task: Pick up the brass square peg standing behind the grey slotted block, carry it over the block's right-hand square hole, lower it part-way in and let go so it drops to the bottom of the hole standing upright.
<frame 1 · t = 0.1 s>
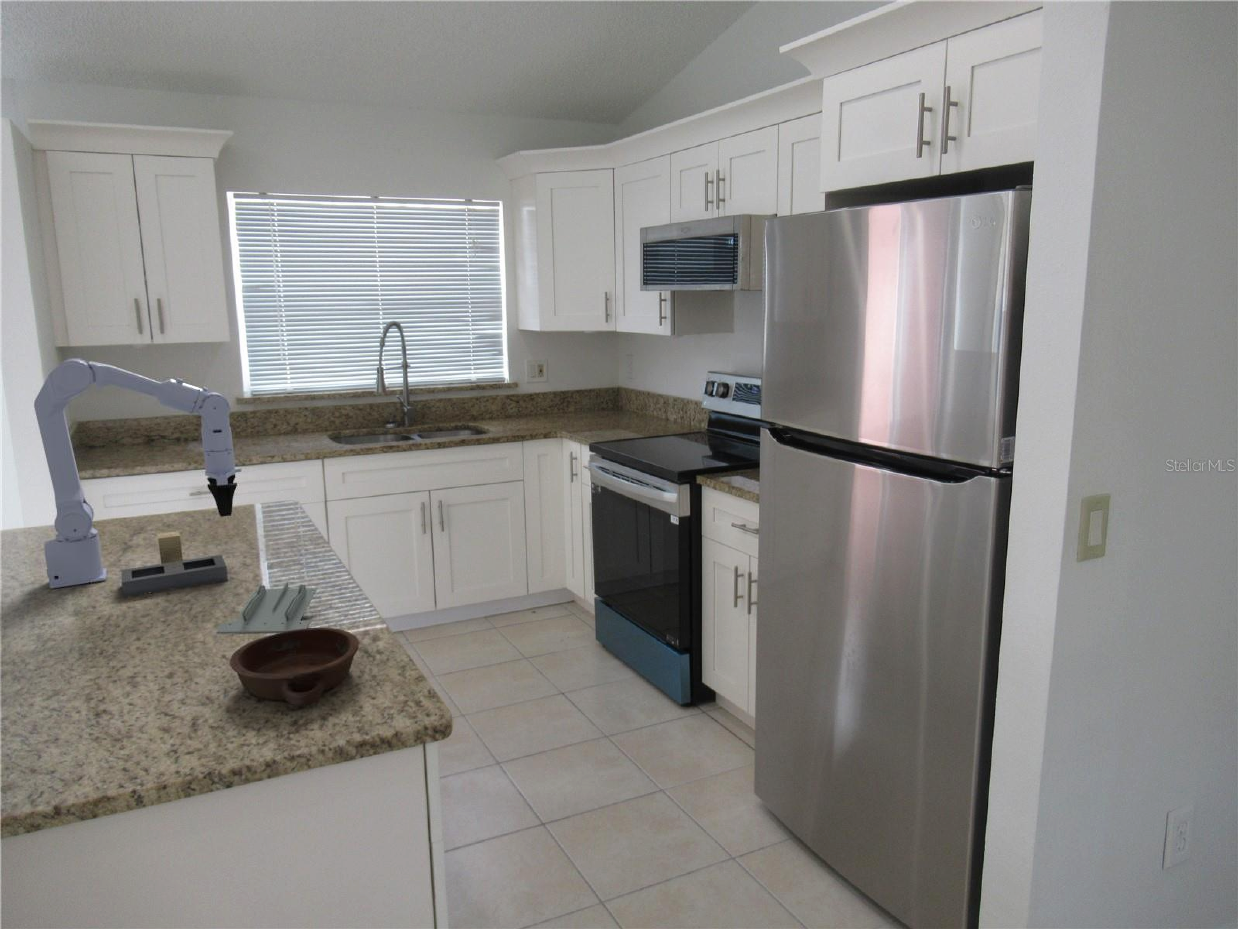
hand: (225, 512, 185), 10 cm above the counter, tool pointing down, fingers open, 7 cm apart
dish: (299, 682, 126), on the counter
metal bracket: (276, 622, 150), on the counter
grey slotted block: (175, 582, 171), on the counter
brass peg: (172, 567, 181), on the counter
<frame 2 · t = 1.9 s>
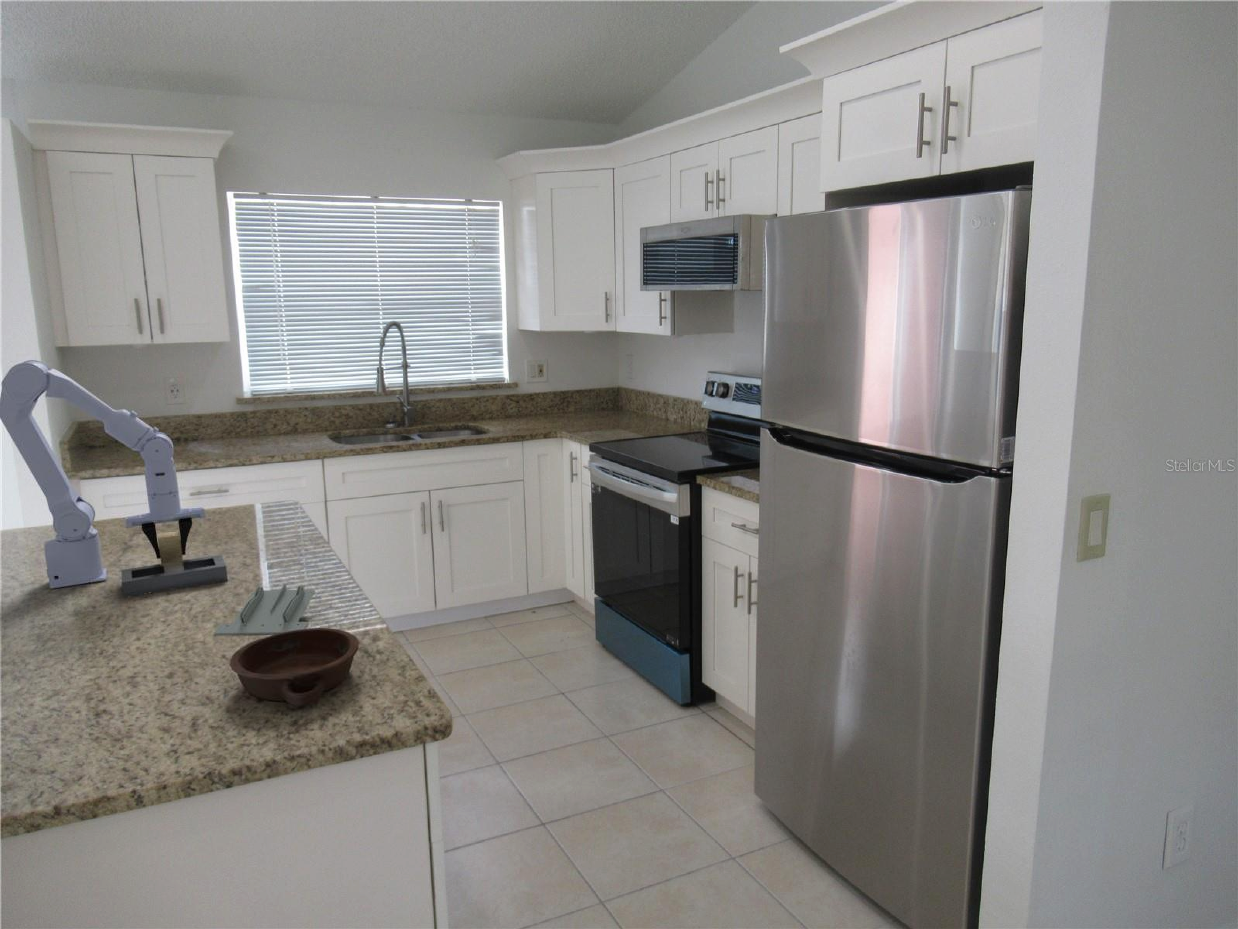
hand: (171, 555, 181), 2 cm above the counter, tool pointing down, fingers closed on brass peg, 4 cm apart
brass peg: (172, 566, 181), on the counter, touching gripper
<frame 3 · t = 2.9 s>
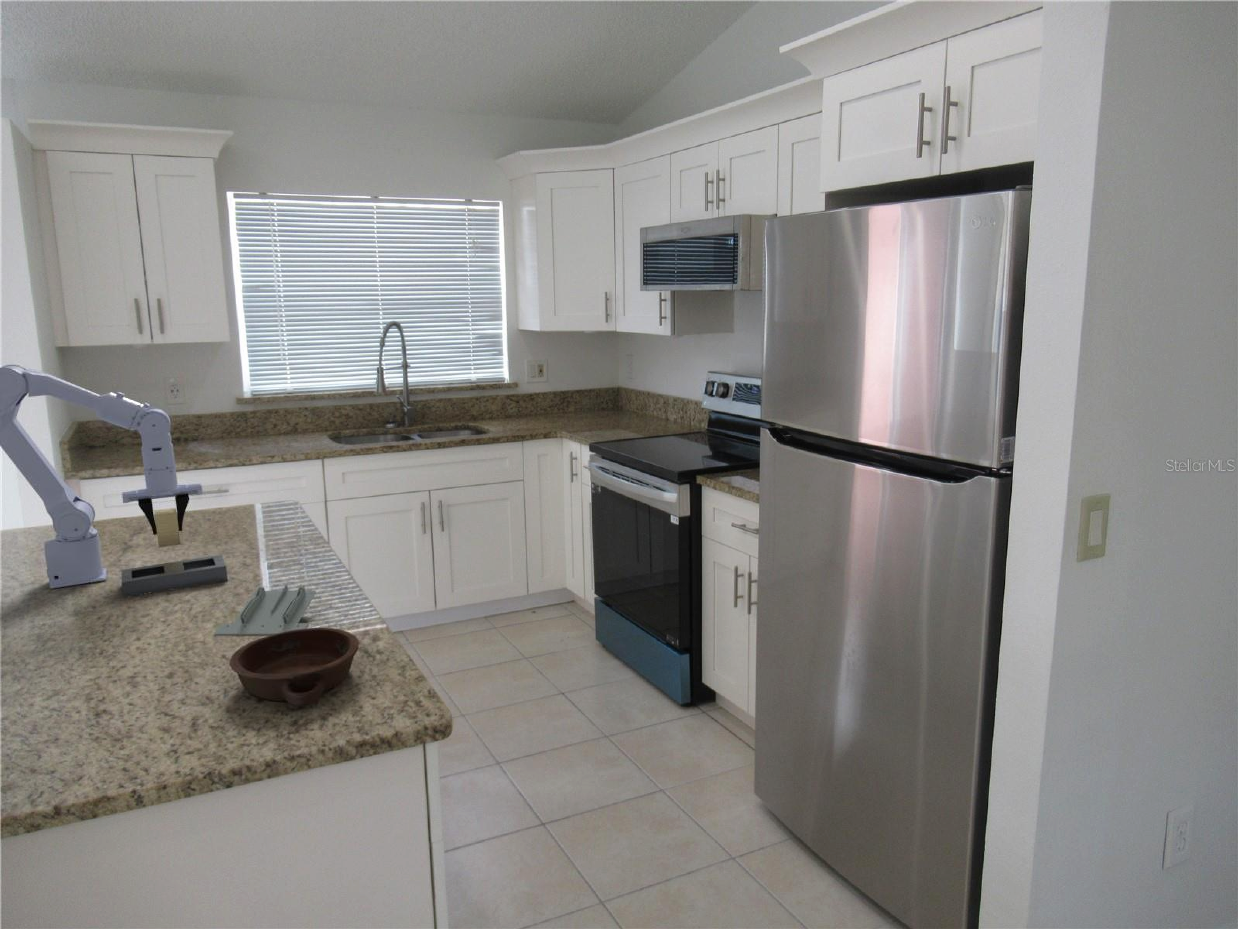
hand: (167, 531, 179), 8 cm above the counter, tool pointing down, fingers closed on brass peg, 4 cm apart
brass peg: (169, 543, 180), point 5 cm above the counter, touching gripper
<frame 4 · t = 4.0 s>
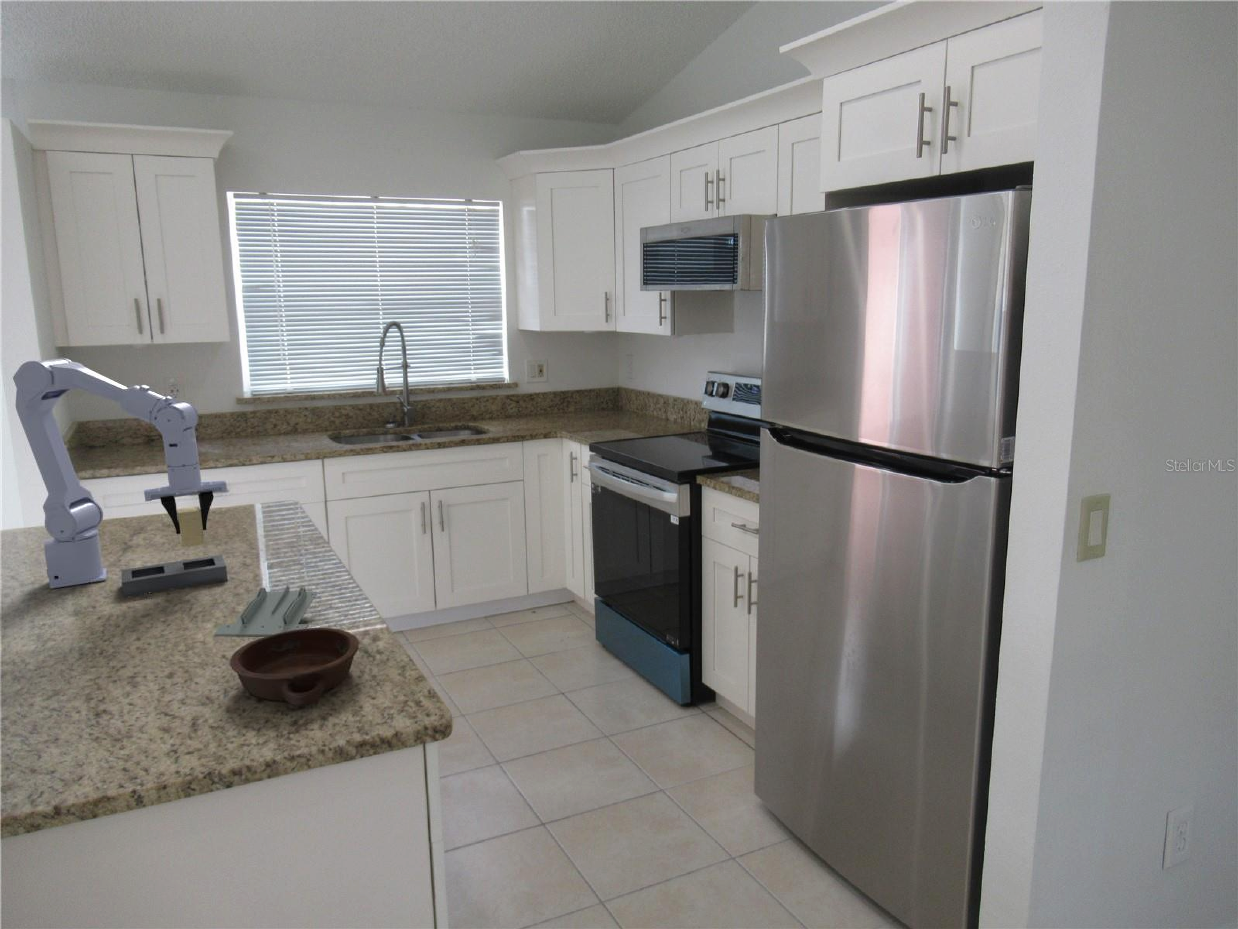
hand: (191, 531, 172), 9 cm above the counter, tool pointing down, fingers closed on brass peg, 4 cm apart
brass peg: (192, 543, 173), point 7 cm above the counter, touching gripper
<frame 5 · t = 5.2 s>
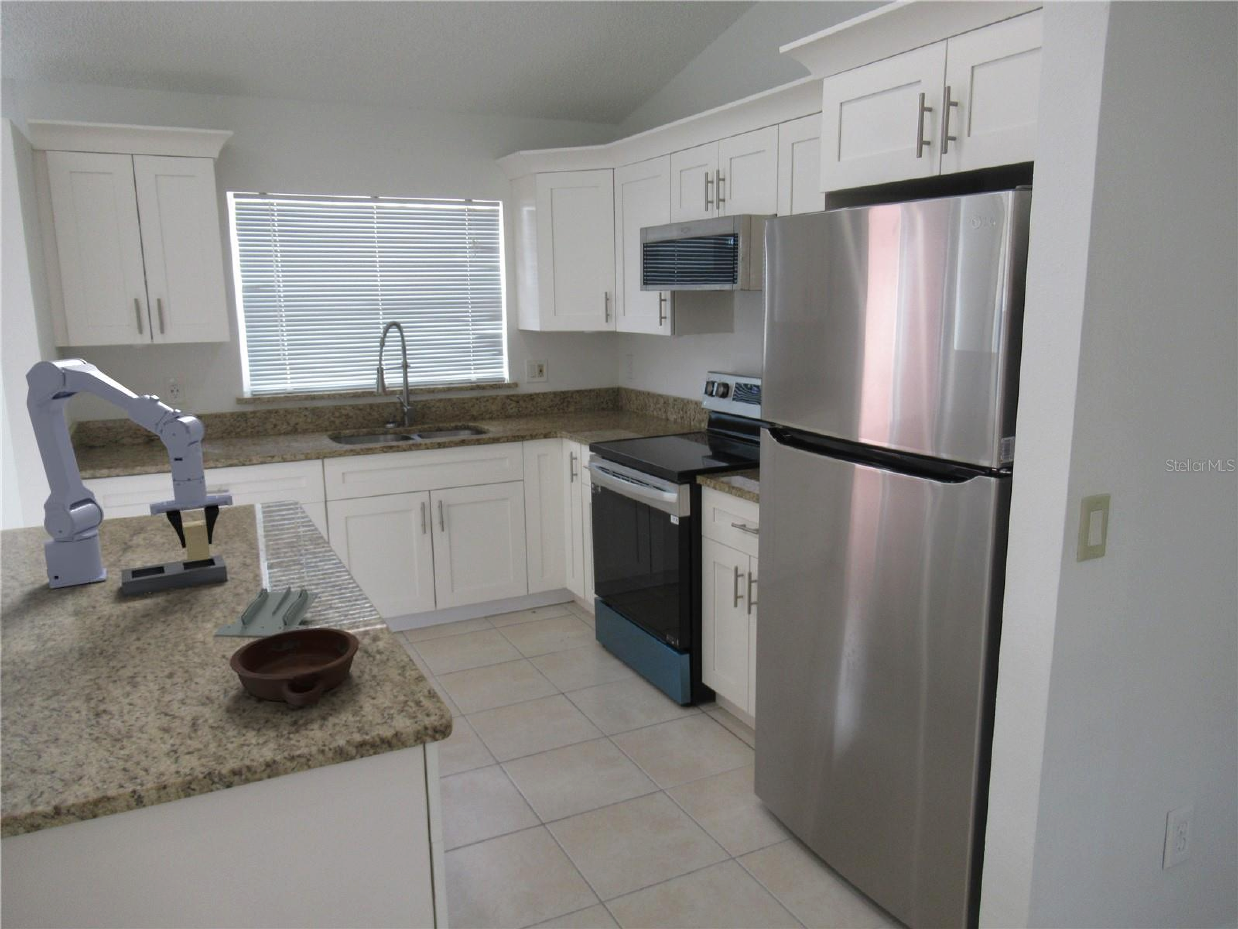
hand: (196, 545, 172), 7 cm above the counter, tool pointing down, fingers closed on brass peg, 4 cm apart
brass peg: (198, 557, 172), point 4 cm above the counter, touching gripper
when the fingers open (4 cm above the counter, at t = 6.3 s): brass peg drops 1 cm, on the counter.
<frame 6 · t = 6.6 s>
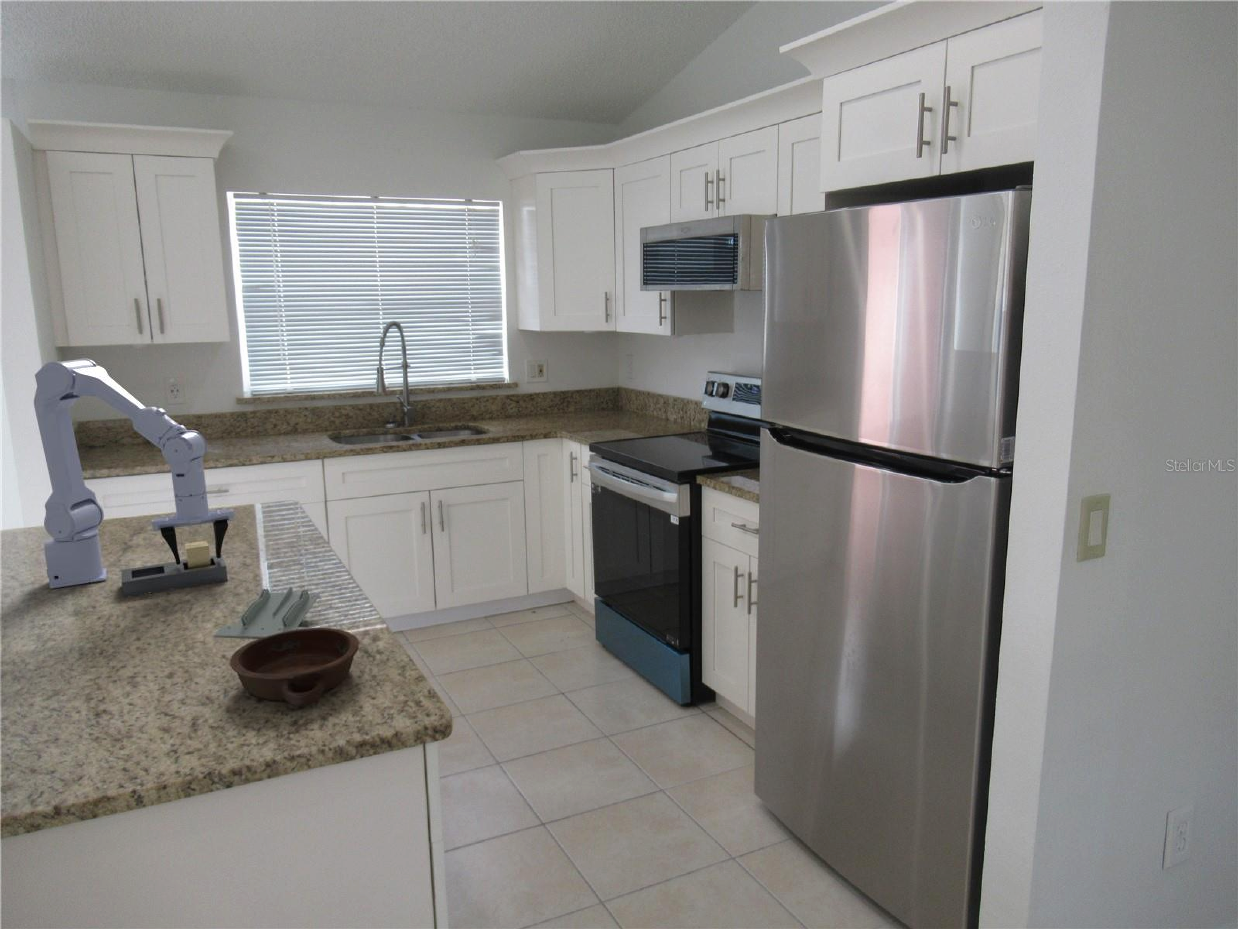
hand: (198, 560, 172), 4 cm above the counter, tool pointing down, fingers open, 7 cm apart
brass peg: (200, 578, 173), on the counter
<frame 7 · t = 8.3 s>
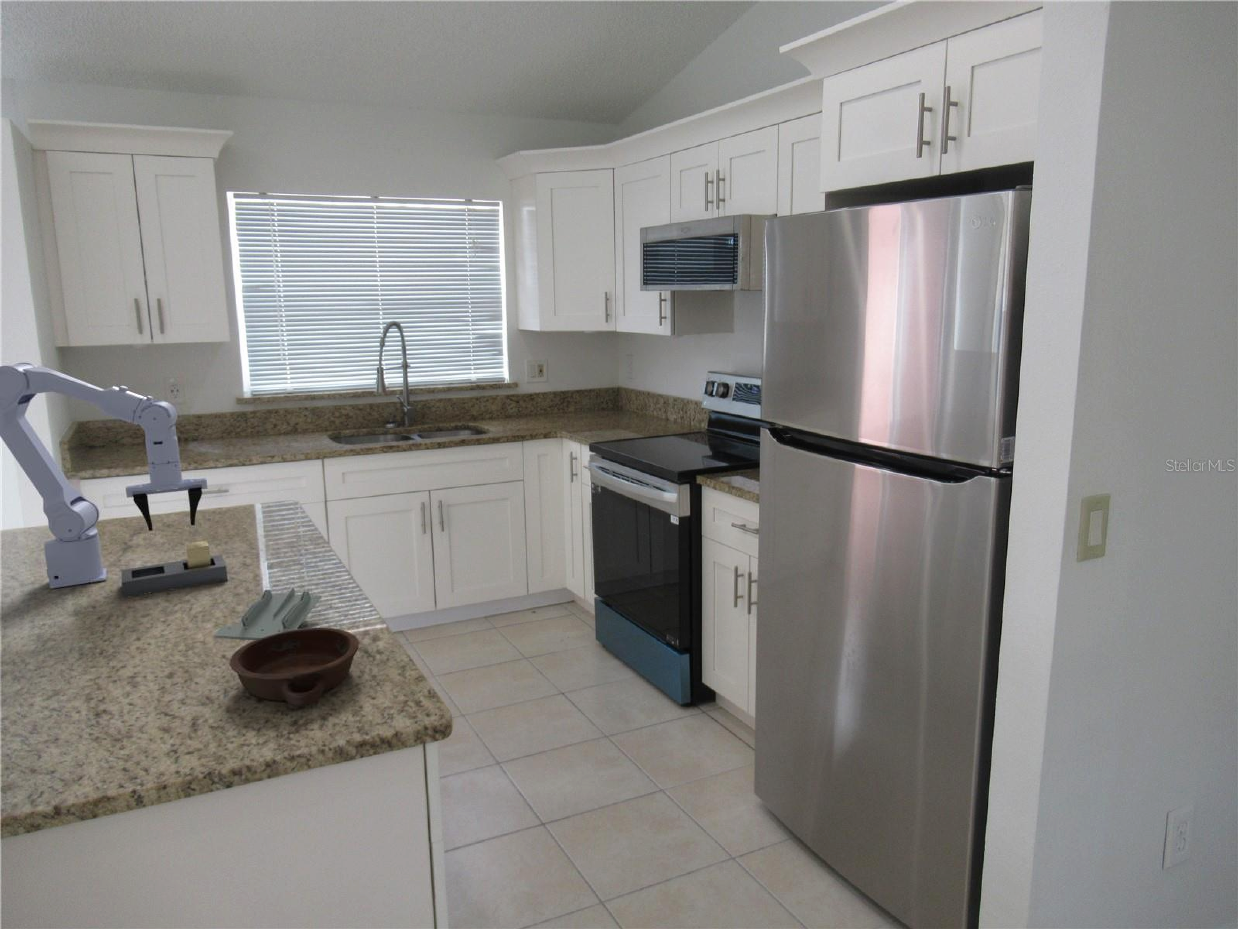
hand: (172, 527, 176), 9 cm above the counter, tool pointing down, fingers open, 7 cm apart
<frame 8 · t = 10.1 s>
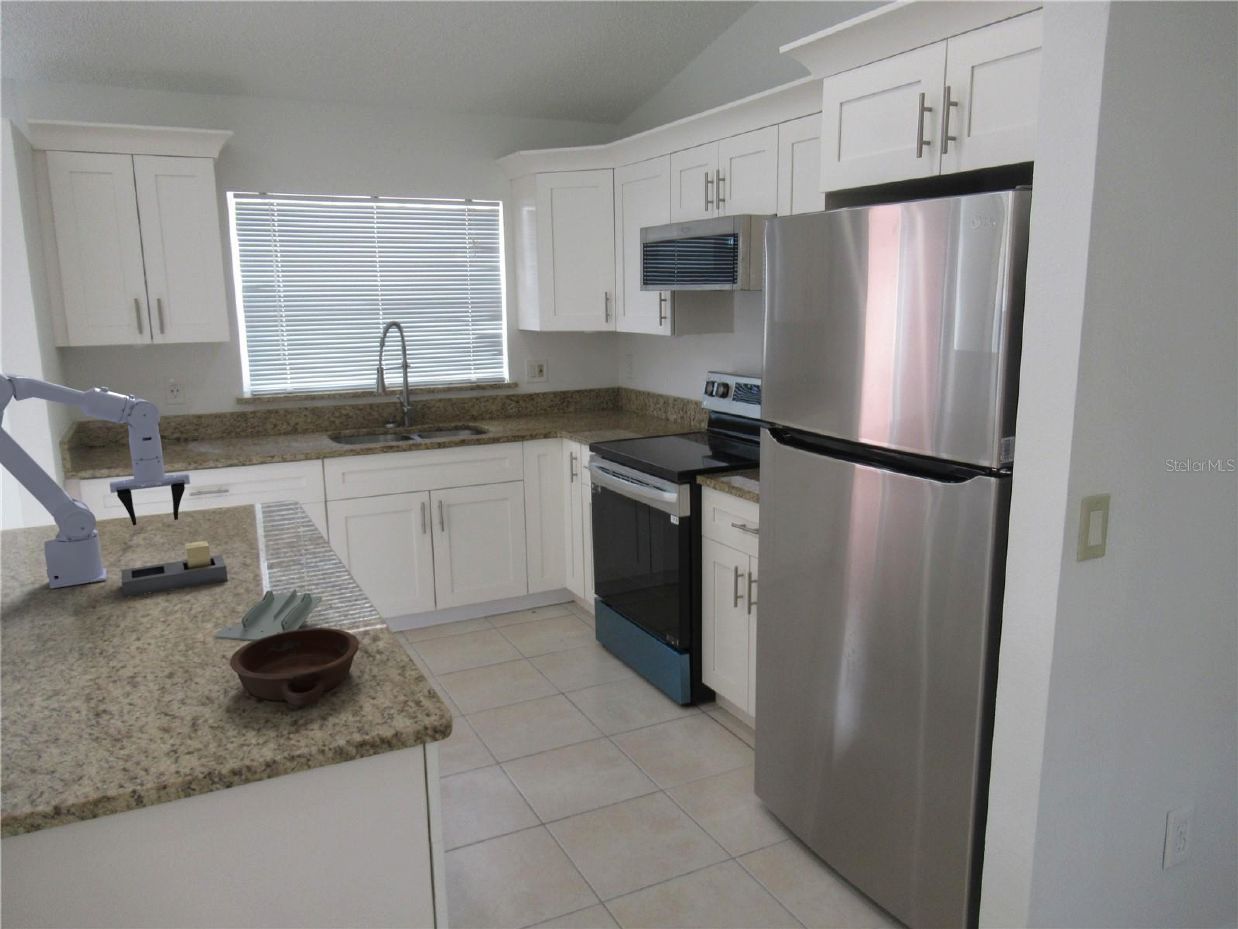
hand: (155, 521, 181), 9 cm above the counter, tool pointing down, fingers open, 7 cm apart
at the end: brass peg 0.2 cm from the target spot on the grey slotted block, point 0.0 cm above the grey slotted block's base; brass peg tilted 0°; the gripper is holding nothing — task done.
